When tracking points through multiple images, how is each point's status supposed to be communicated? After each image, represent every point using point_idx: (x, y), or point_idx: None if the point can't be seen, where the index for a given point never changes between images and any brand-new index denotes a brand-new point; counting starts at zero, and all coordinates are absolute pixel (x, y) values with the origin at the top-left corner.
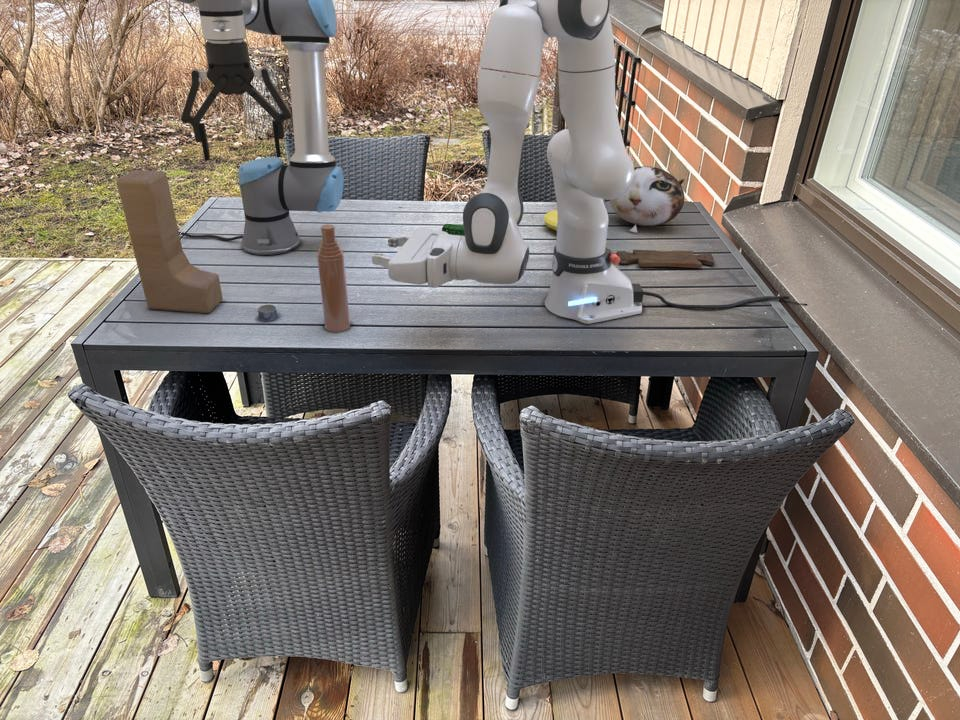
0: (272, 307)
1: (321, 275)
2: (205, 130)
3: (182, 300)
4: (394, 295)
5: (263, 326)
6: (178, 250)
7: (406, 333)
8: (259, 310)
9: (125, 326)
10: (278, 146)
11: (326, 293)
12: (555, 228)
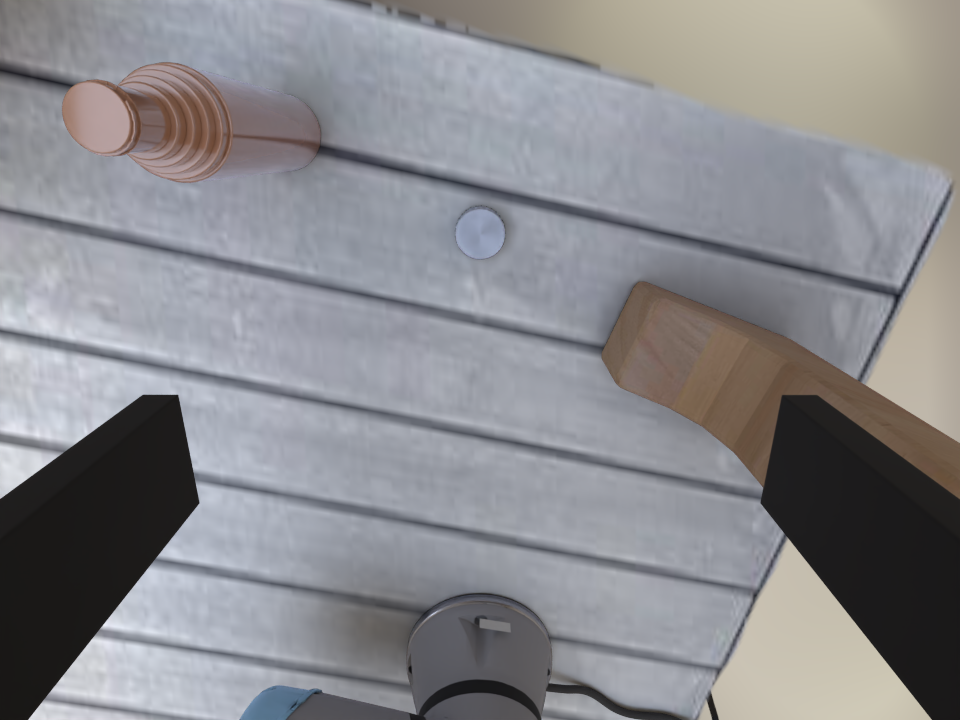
0: (464, 237)
1: (246, 96)
2: (920, 702)
3: (711, 311)
4: (134, 300)
5: (492, 177)
6: (749, 431)
7: (77, 39)
8: (500, 224)
9: (848, 255)
10: (89, 443)
11: (259, 90)
12: None
